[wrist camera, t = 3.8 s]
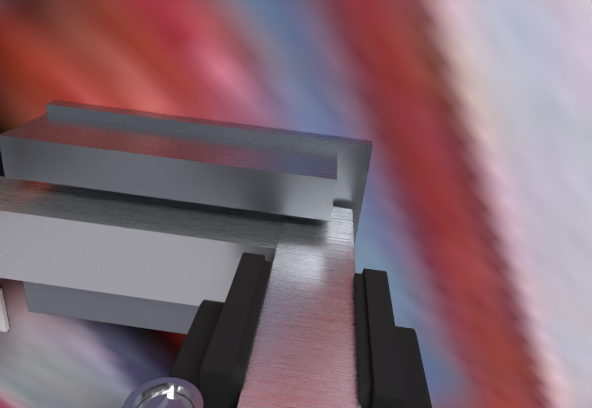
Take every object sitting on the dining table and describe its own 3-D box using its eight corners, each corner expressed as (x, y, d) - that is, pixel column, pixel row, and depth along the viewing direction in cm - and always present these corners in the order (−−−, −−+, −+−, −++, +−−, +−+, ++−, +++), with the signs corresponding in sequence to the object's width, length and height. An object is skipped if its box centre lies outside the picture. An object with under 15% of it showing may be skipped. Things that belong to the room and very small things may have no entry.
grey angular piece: (361, 154, 14) (389, 394, 6) (333, 316, 16) (325, 640, 8) (-52, 100, 14) (-567, 253, 6) (-17, 266, 17) (-349, 528, 9)
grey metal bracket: (371, 141, 15) (377, 174, 12) (340, 308, 17) (340, 364, 15) (54, 100, 15) (-5, 123, 12) (74, 270, 18) (29, 318, 15)
